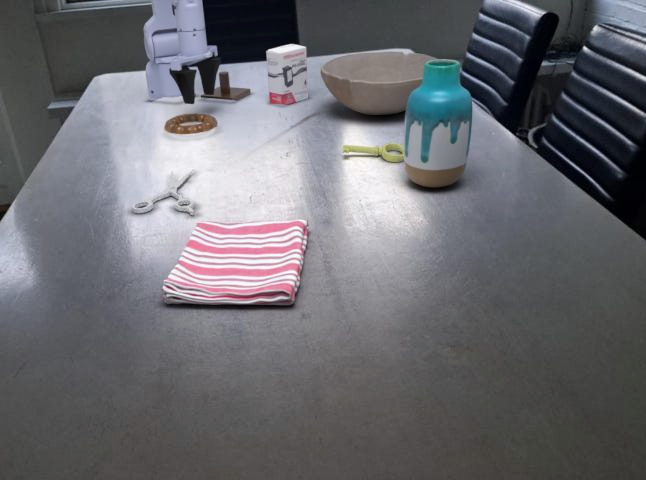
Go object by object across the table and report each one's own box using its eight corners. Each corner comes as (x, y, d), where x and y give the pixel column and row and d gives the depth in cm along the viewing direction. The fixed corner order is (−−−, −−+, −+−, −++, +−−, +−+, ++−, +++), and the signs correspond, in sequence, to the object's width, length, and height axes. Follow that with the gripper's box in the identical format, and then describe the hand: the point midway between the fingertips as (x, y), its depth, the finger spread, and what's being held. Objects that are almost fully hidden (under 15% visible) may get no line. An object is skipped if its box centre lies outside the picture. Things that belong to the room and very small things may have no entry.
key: (339, 155, 129) (339, 144, 128) (401, 148, 131) (401, 137, 130) (349, 168, 123) (349, 156, 122) (414, 160, 125) (415, 149, 124)
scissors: (128, 213, 109) (154, 168, 126) (128, 217, 110) (154, 172, 126) (193, 211, 109) (211, 166, 125) (194, 215, 109) (211, 170, 125)
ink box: (283, 106, 159) (280, 52, 152) (268, 103, 162) (265, 49, 156) (309, 98, 164) (307, 45, 157) (294, 95, 167) (292, 43, 160)
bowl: (463, 104, 153) (467, 57, 147) (398, 137, 137) (400, 84, 131) (366, 90, 167) (366, 46, 161) (297, 118, 151) (295, 70, 145)
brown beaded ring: (155, 137, 145) (153, 124, 143) (185, 122, 153) (183, 110, 151) (199, 142, 140) (197, 129, 139) (227, 126, 148) (226, 114, 147)
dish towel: (160, 309, 86) (155, 284, 84) (200, 230, 105) (197, 208, 103) (295, 311, 84) (294, 286, 82) (311, 230, 103) (310, 208, 101)
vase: (426, 168, 121) (434, 52, 110) (478, 182, 115) (492, 60, 104) (388, 186, 116) (392, 65, 104) (441, 201, 109) (451, 74, 98)
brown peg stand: (200, 100, 168) (197, 75, 165) (220, 91, 174) (217, 67, 171) (232, 103, 164) (229, 78, 161) (250, 93, 171) (248, 69, 167)
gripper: (187, 36, 132) (196, 109, 140) (226, 23, 142) (233, 91, 150) (157, 35, 135) (168, 106, 142) (198, 22, 145) (206, 89, 153)
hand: (199, 98), depth 146 cm, fingers open, 7 cm apart
